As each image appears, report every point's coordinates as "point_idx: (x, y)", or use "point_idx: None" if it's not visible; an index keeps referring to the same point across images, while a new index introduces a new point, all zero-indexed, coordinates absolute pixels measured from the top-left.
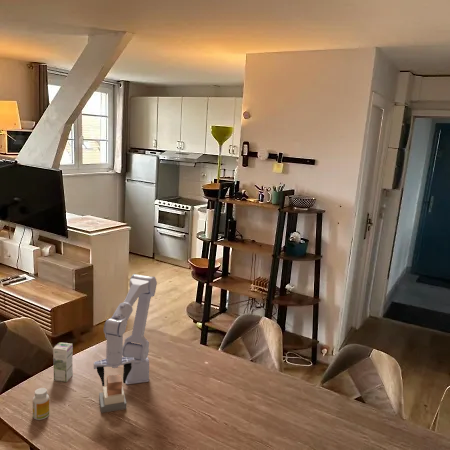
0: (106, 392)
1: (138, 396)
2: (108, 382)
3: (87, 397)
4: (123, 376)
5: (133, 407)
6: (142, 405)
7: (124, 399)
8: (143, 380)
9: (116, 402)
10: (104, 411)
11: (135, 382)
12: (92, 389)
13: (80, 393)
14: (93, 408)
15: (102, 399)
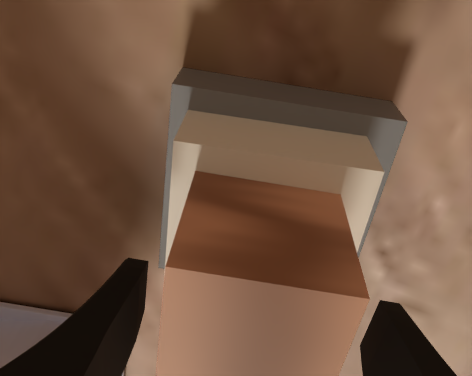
0: None
1: (59, 180)
2: (357, 312)
3: (404, 300)
4: (125, 350)
5: (119, 61)
6: (39, 56)
7: None
8: (2, 315)
9: (259, 123)
10: (366, 100)
11: (59, 316)
12: None
13: None
14: (421, 178)
15: None
